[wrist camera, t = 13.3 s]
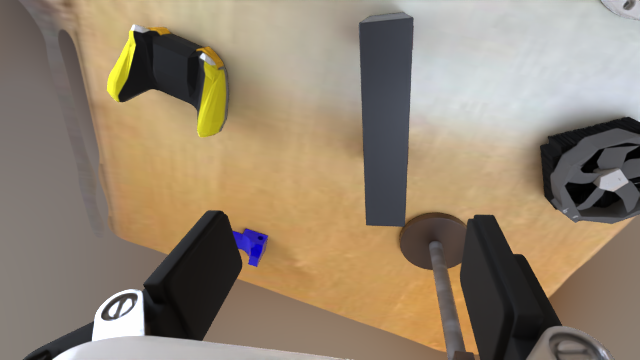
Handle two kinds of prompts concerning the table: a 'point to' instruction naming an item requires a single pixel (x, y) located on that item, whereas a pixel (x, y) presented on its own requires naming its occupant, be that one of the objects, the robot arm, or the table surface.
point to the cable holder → (251, 244)
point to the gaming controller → (173, 74)
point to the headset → (386, 114)
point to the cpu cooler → (594, 171)
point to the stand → (439, 267)
